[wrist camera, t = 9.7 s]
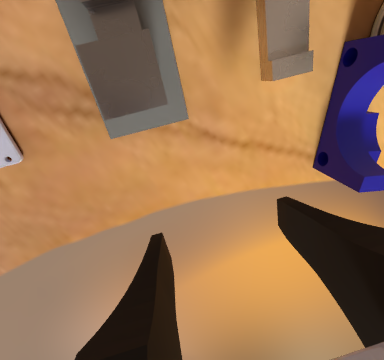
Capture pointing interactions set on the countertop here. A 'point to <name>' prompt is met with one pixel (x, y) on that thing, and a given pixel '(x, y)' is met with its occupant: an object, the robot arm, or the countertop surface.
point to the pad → (157, 23)
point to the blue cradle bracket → (354, 118)
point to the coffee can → (378, 24)
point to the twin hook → (283, 38)
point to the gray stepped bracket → (121, 60)
